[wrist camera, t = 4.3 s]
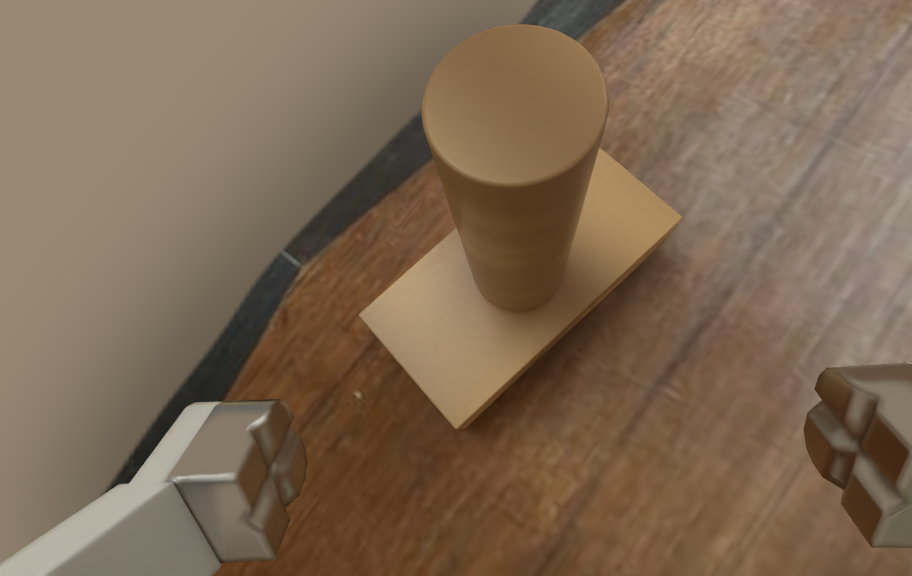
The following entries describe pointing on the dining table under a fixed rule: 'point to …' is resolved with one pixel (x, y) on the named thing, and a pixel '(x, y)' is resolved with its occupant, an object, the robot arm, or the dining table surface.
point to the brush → (514, 218)
